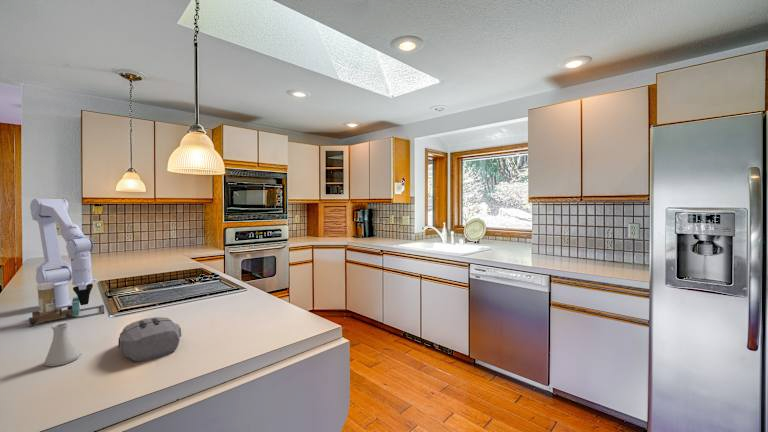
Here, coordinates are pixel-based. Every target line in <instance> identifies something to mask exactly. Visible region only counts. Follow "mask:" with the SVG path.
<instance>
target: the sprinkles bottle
mask: <svg viewBox="0 0 768 432" xmlns="http://www.w3.org/2000/svg"><path fill="white" fill-rule="evenodd" d="M54 287H55V285H54V283H53V282H48V283H41V284H38V283H37V285H36V290H37V294H38V295H37V296H38V297H37V298H38V299H37V300H38V311H39V312H40V316H42V315H48V314H54V313H55V312H56V302H55V294H54Z"/></svg>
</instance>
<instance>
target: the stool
mask: <svg viewBox="0 0 768 432" xmlns="http://www.w3.org/2000/svg"><path fill="white" fill-rule="evenodd" d="M80 307H81V305H80V302H79V299H78V296H74V297H72V300H71V304H70V306H67V308H66V309H63V307H58V308H56V312H55V313H54V314H48V315H42V316H40V312H39V310H34V311H32V312H31V313H32V314H31V315H32V316H31V317H29V318H28V325H30V324H39V323H44V322H50V321H55V320H61V319H66V318H72V317H77V316H80V312H81V311H80V309H81V308H80Z"/></svg>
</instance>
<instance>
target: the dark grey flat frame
mask: <svg viewBox="0 0 768 432" xmlns="http://www.w3.org/2000/svg"><path fill="white" fill-rule="evenodd" d="M93 309H94V310H95V309H100V311H99V312H95V313H89V314H84V315H78V316H72V317H69V318H68V317H67V318H61V319H56V320H50V321H45V322H39V323H35V324H28V325H29V328H33V327H34V328H35V327H38V326H44V325H48V324H53V323H60V322H61V323H62V322H65V321H70V320H76V319H81V318H86V317H92V316H98V315H103V314H105V304H100V305H98V306H97V305H95V306H91V307H84V308H80V311H79V312H83V311H87V310H88V311H89V310H93Z"/></svg>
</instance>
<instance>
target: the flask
mask: <svg viewBox="0 0 768 432" xmlns="http://www.w3.org/2000/svg"><path fill="white" fill-rule="evenodd" d="M69 324H70V323H68V322H63V323H62V322H61V323H57V324H55V325H53V326H51V330H52V331H53V336H52V341H51V344H50V347H49V350H48V352H47V355H46V358H45V360H44V362H43V366H45V367H46V366H47V367H58V366H63V365H67V364H69V363H71V362H73V361H76V360H78V359H79V358H80V357H81V355H82V353H81V352H80V350H79V349H78V347H77V346H76V344H75V343H74V341H73V340H72V338H71V336H70V334H69V330H68V326H69Z"/></svg>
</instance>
